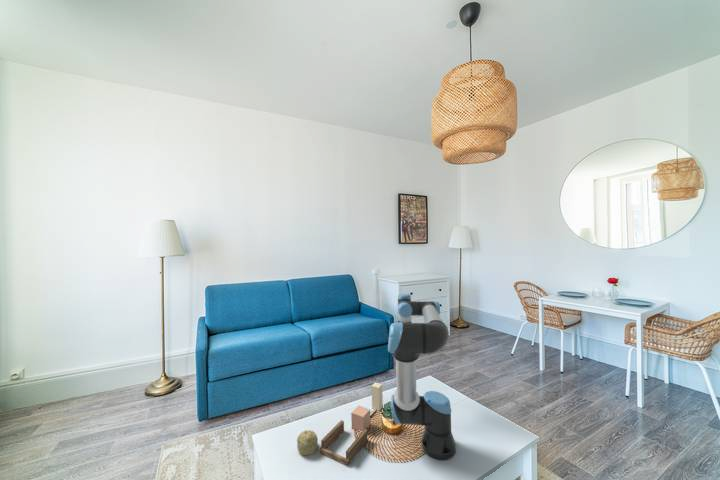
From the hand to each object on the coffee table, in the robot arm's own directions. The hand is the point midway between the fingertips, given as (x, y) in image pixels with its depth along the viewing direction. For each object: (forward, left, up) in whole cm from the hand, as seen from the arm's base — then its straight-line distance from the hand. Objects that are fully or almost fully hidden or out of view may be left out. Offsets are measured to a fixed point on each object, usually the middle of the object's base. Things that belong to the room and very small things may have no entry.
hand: (405, 357), depth 161 cm
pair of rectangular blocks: (+13, +22, -27) cm, 37 cm away
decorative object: (+27, +55, -27) cm, 67 cm away
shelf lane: (+13, +45, -27) cm, 54 cm away
